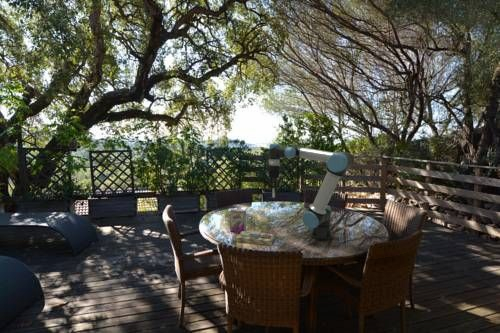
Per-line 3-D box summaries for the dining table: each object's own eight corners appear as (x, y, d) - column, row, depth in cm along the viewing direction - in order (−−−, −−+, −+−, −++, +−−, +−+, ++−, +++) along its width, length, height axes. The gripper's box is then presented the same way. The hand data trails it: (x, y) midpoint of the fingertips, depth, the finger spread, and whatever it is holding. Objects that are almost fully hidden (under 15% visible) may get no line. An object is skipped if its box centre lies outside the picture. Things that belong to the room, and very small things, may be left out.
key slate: (260, 235, 215) (260, 231, 215) (258, 238, 210) (258, 234, 210) (252, 235, 217) (253, 231, 216) (250, 237, 211) (250, 233, 211)
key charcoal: (270, 239, 213) (270, 235, 213) (268, 241, 208) (268, 237, 208) (262, 238, 215) (262, 234, 215) (260, 241, 210) (261, 236, 209)
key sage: (250, 237, 217) (250, 233, 217) (248, 239, 212) (248, 235, 212) (243, 236, 219) (243, 232, 218) (241, 238, 213) (241, 234, 213)
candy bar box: (229, 231, 231) (230, 210, 229) (232, 229, 236) (232, 208, 234) (244, 233, 227) (244, 211, 225) (246, 231, 232) (246, 210, 230)
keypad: (274, 238, 217) (275, 234, 217) (270, 245, 204) (270, 240, 203) (241, 235, 223) (241, 230, 223) (235, 241, 210) (235, 237, 210)
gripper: (264, 165, 223) (263, 197, 226) (282, 165, 220) (281, 198, 222) (266, 164, 230) (266, 195, 233) (284, 164, 227) (283, 196, 230)
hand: (273, 197), depth 228 cm, fingers closed
